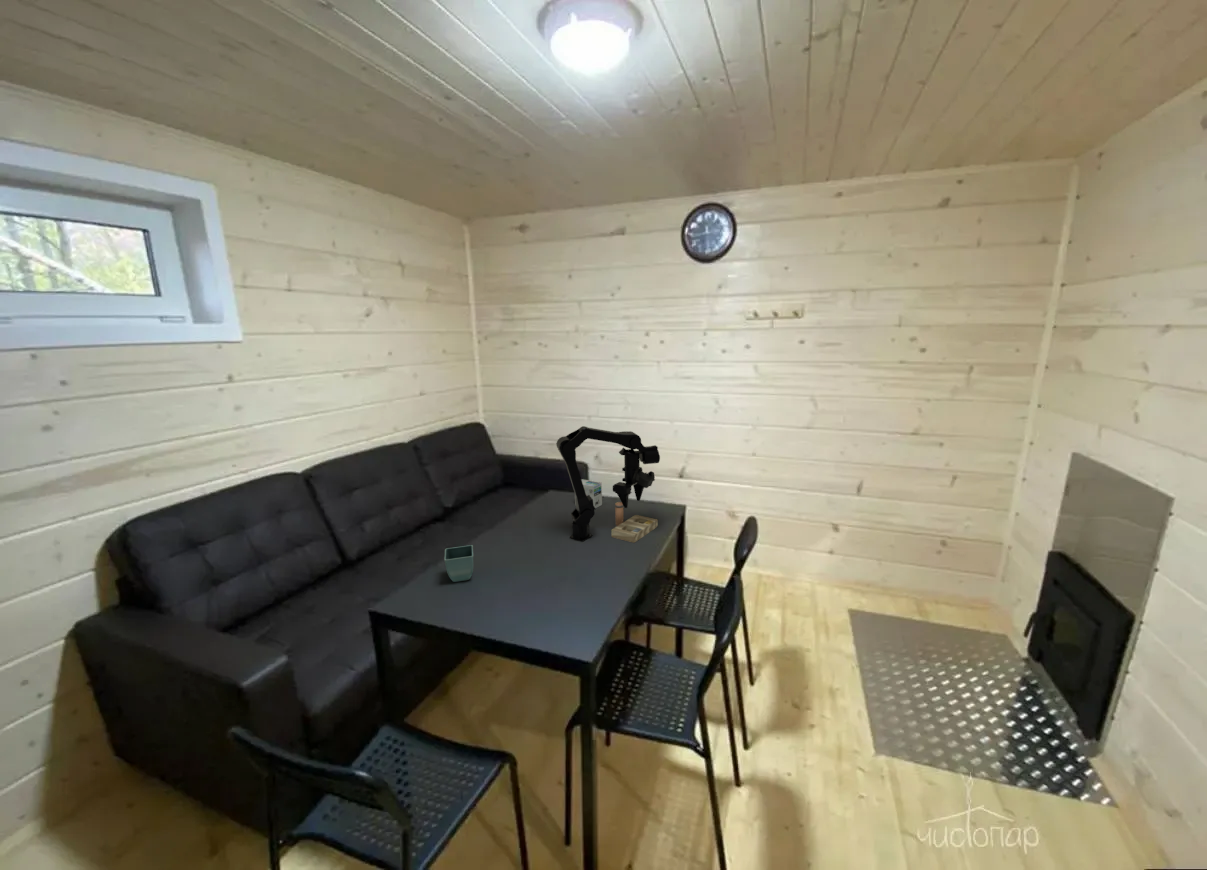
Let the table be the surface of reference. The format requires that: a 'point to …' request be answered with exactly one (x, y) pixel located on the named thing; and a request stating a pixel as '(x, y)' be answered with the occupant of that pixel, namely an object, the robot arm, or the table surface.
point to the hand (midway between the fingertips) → (632, 504)
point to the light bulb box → (593, 491)
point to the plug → (619, 513)
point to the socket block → (634, 528)
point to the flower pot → (459, 562)
